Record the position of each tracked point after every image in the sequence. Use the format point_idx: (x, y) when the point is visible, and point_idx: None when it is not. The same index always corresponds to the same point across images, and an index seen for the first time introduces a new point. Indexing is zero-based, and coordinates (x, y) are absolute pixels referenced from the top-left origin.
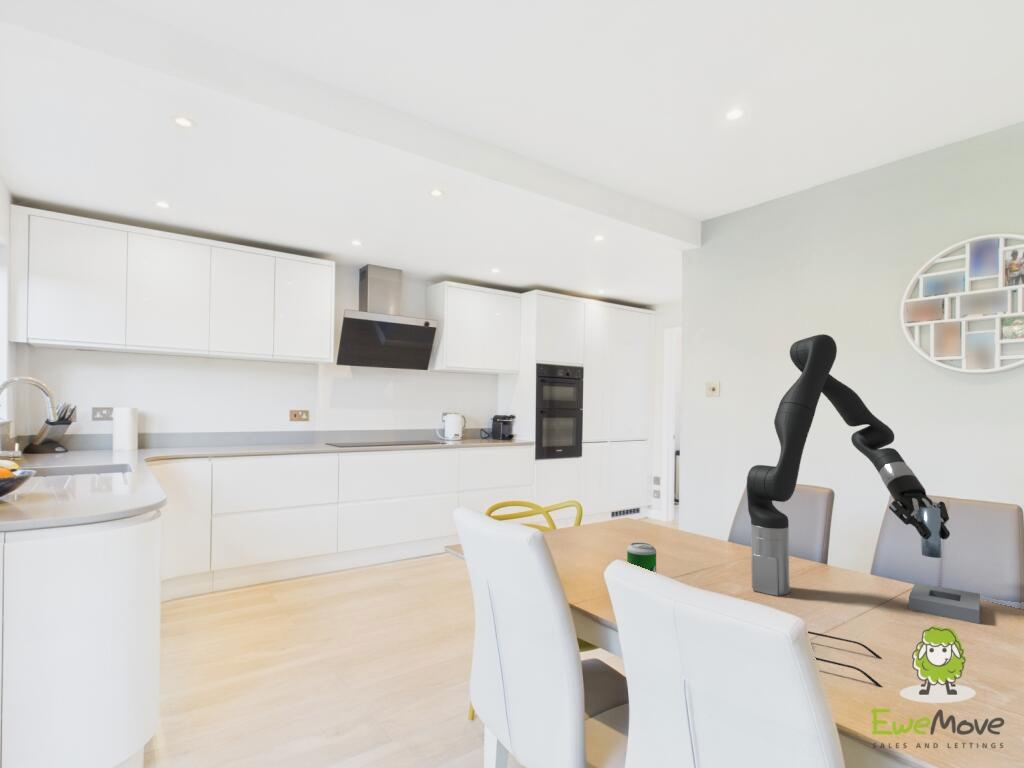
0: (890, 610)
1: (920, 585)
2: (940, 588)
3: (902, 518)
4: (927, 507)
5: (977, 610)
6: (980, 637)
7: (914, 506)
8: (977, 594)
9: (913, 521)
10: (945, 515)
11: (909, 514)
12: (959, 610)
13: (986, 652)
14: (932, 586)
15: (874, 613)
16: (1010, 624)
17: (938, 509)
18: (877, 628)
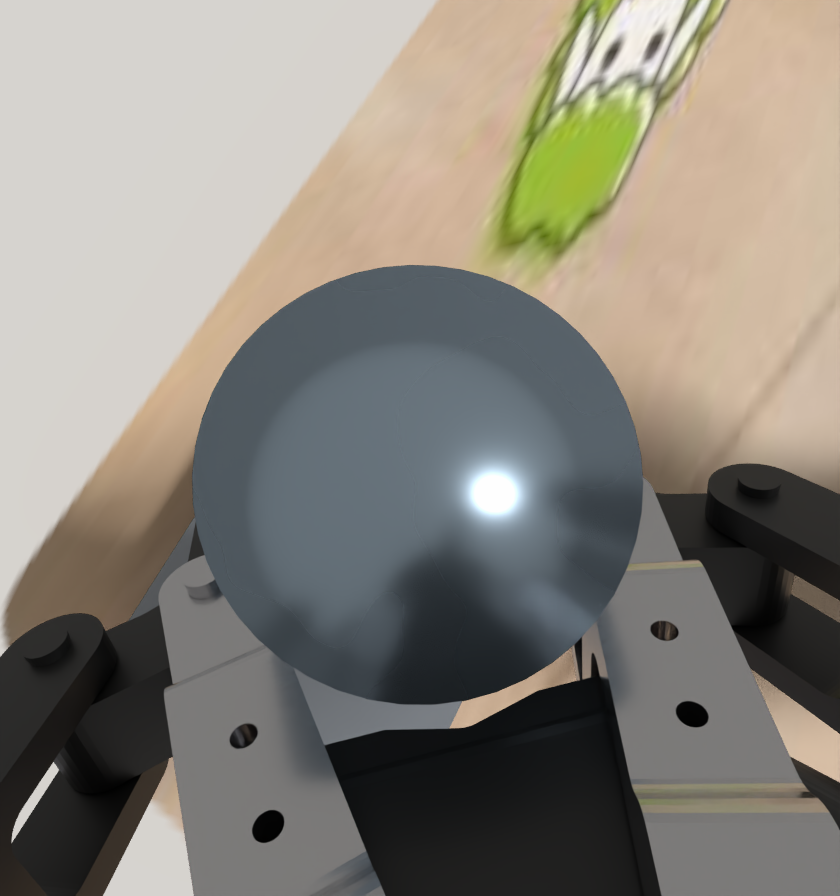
0: (661, 424)
1: (411, 728)
2: (312, 688)
3: (829, 633)
4: (459, 524)
5: None
6: (420, 187)
7: (734, 694)
8: (147, 610)
9: (680, 502)
10: (12, 703)
11: (793, 526)
12: None
13: (479, 62)
14: (341, 726)
15: (746, 361)
16: (188, 369)
17: (310, 293)
18: (779, 188)
